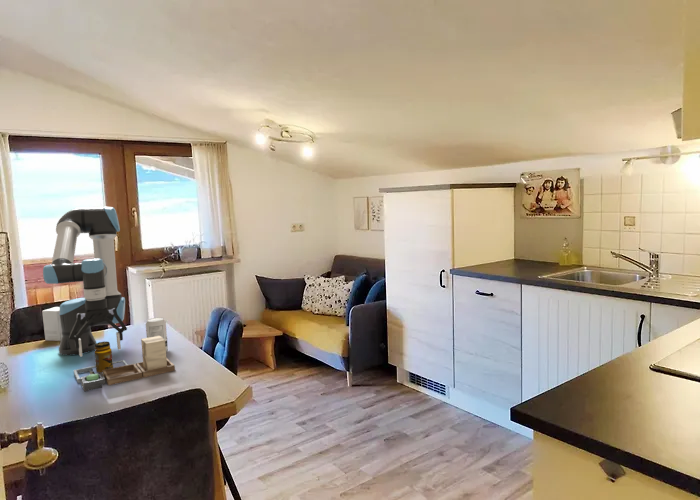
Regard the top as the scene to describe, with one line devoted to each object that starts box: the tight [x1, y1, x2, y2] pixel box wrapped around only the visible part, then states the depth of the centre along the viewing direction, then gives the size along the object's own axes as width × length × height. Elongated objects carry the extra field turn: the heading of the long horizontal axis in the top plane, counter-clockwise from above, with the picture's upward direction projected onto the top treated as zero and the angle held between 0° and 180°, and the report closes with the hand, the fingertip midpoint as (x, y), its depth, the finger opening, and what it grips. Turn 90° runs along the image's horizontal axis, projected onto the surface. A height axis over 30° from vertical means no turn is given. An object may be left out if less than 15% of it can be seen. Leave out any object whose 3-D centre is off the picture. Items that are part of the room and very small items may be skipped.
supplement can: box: [145, 317, 169, 353], centre depth 221 cm, size 8×8×15 cm
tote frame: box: [73, 359, 129, 384], centre depth 199 cm, size 13×19×2 cm
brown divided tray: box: [102, 357, 176, 386], centre depth 195 cm, size 13×24×3 cm, turn 125°
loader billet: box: [140, 336, 168, 371], centre depth 197 cm, size 8×7×12 cm
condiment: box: [89, 341, 114, 375], centre depth 199 cm, size 7×8×12 cm
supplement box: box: [41, 306, 62, 342], centre depth 250 cm, size 9×9×15 cm
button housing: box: [80, 372, 106, 392], centre depth 186 cm, size 8×7×3 cm
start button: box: [86, 373, 99, 381], centre depth 186 cm, size 4×4×2 cm
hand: (100, 352), depth 198 cm, fingers open, 13 cm apart
